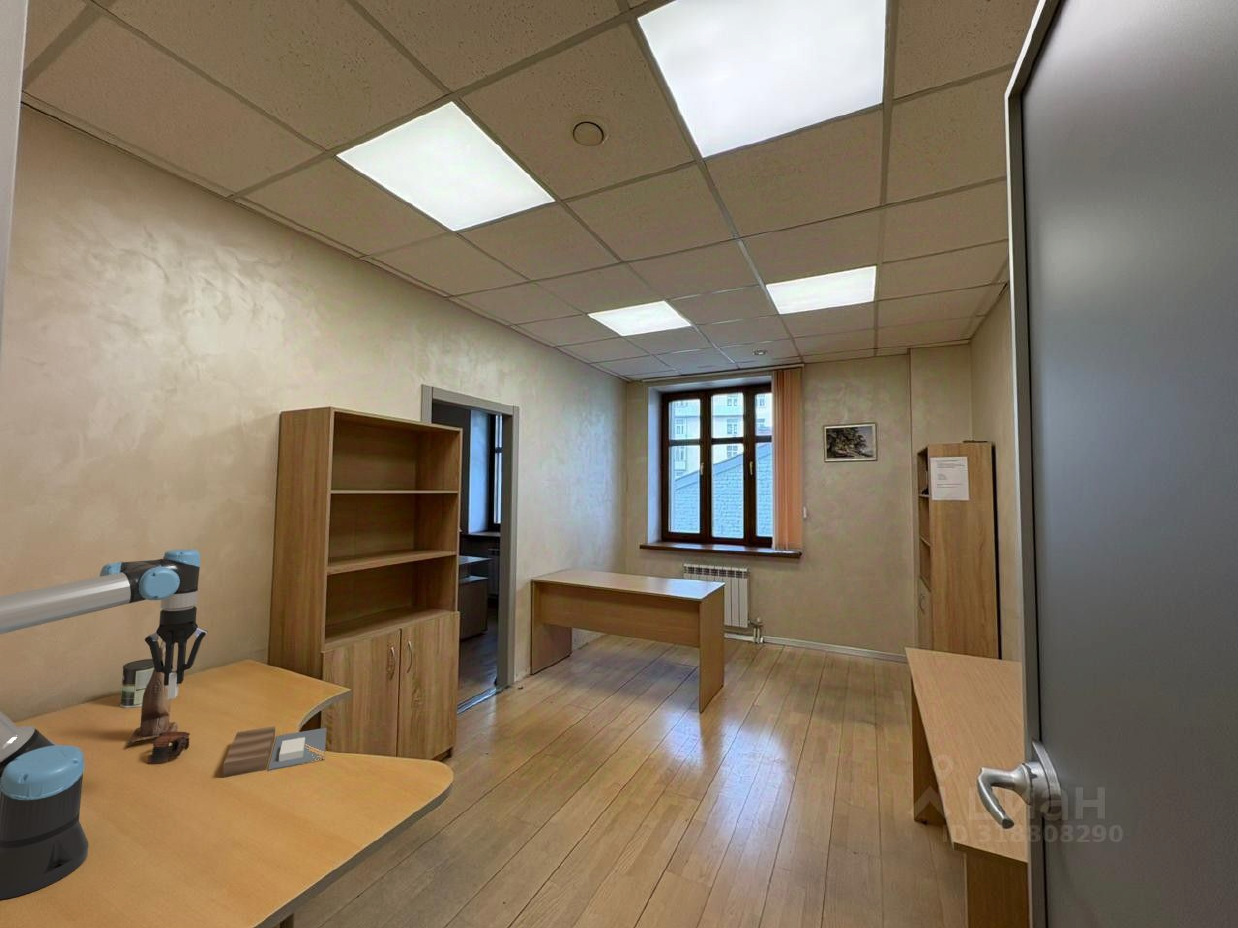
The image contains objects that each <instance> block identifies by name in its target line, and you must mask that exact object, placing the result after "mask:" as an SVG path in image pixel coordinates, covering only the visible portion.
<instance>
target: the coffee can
mask: <svg viewBox="0 0 1238 928" xmlns="http://www.w3.org/2000/svg"><path fill="white" fill-rule="evenodd" d="M153 670H154V663H153V659H152V658H145V659H139V660H134V661H131V662H128V663H125V664H123V666H122V680H121V692H120V693H121V694H120V704H119V705H120V708H123V709H124V708H125V709H130V708H131V709H133V708H139V707H140V708H141V707H142V700H143V694H144V691H145V689H146V687H147V685H148V683H149V681H150V679H151V676H152V673H153Z"/></svg>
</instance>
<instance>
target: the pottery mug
mask: <svg viewBox="0 0 1238 928" xmlns="http://www.w3.org/2000/svg"><path fill="white" fill-rule="evenodd" d="M190 735H191V733H190V732H186V731H178V730H177V731H170V732H162V733H160V734H159V737H158V736H157V737H155V739H154V740H153V741H152V742H151V743H152V751H151V752H152V753H150V754H148V755H147V761H146V763H147V764H152V763H153V764H165V763H166V764H167V763H168V761H169V758H170V757H171V758H173V759H176V758H177V757H179V756H181V753H182V752H183V751H184V750H188V749H189V746H190V737H189V736H190ZM170 743H171V745H170Z"/></svg>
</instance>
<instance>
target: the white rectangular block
mask: <svg viewBox="0 0 1238 928" xmlns="http://www.w3.org/2000/svg"><path fill="white" fill-rule="evenodd" d="M304 746H305V737H303V738H297V739H291V740H285V741H282V745H281V750H280V754H279V761H285V760H290V759H295V758H301V757H303V752H304Z"/></svg>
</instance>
